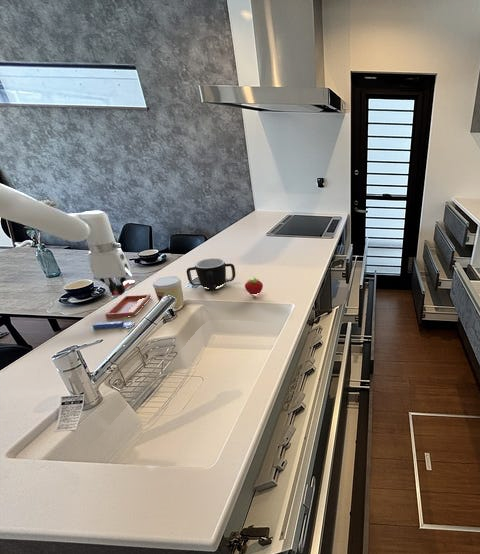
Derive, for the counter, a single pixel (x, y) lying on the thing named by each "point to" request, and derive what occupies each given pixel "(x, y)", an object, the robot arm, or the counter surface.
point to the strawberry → (254, 286)
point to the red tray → (126, 306)
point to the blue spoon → (111, 325)
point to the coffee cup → (169, 289)
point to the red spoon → (126, 285)
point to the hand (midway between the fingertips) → (118, 293)
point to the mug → (211, 273)
